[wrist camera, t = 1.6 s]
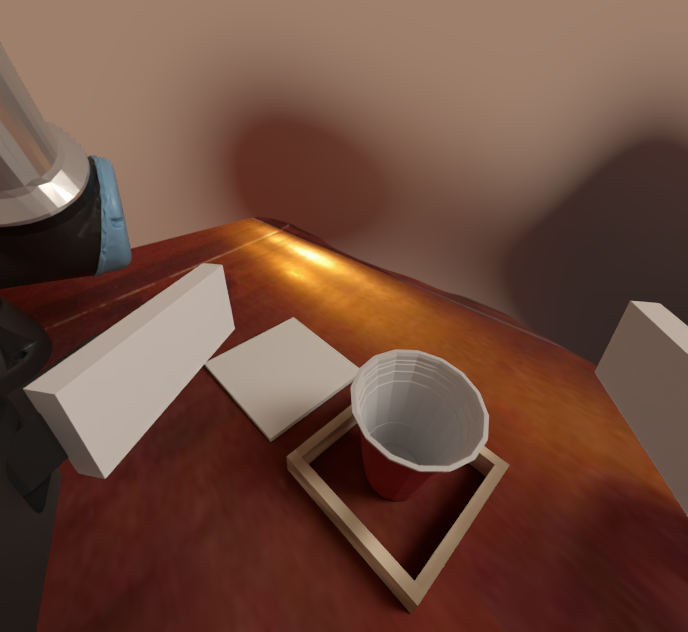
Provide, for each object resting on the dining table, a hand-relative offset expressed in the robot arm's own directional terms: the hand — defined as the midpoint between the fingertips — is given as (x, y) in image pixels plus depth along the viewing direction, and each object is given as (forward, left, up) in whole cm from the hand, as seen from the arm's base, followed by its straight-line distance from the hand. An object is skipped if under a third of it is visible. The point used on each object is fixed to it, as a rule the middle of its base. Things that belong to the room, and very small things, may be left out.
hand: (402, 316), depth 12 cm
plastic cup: (-2, +9, -26) cm, 27 cm away
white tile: (-20, +8, -26) cm, 34 cm away
